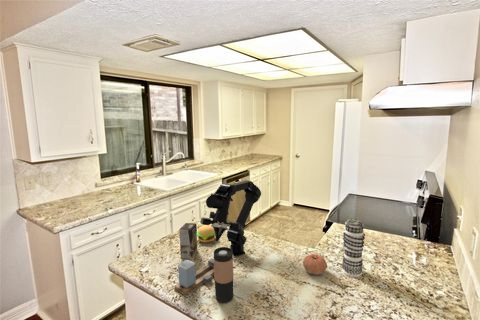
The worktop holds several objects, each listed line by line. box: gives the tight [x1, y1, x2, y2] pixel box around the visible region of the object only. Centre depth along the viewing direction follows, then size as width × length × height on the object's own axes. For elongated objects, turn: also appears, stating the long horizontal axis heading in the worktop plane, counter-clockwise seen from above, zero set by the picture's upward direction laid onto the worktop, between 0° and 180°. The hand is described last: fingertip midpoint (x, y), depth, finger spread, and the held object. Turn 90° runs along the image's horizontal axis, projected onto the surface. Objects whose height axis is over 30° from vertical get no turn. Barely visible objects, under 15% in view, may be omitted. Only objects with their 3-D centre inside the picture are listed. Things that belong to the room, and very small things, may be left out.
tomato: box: [302, 253, 328, 276], centre depth 123 cm, size 11×11×8 cm
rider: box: [177, 259, 197, 288], centre depth 113 cm, size 5×5×11 cm
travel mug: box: [213, 246, 234, 304], centre depth 105 cm, size 8×8×20 cm
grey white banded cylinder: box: [341, 218, 366, 278], centre depth 121 cm, size 9×9×25 cm
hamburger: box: [197, 224, 216, 244], centre depth 159 cm, size 12×12×9 cm
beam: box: [174, 257, 214, 296], centre depth 119 cm, size 24×9×4 cm, turn 144°
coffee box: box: [179, 222, 199, 260], centre depth 141 cm, size 9×6×16 cm
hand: (216, 241), depth 128 cm, fingers closed
